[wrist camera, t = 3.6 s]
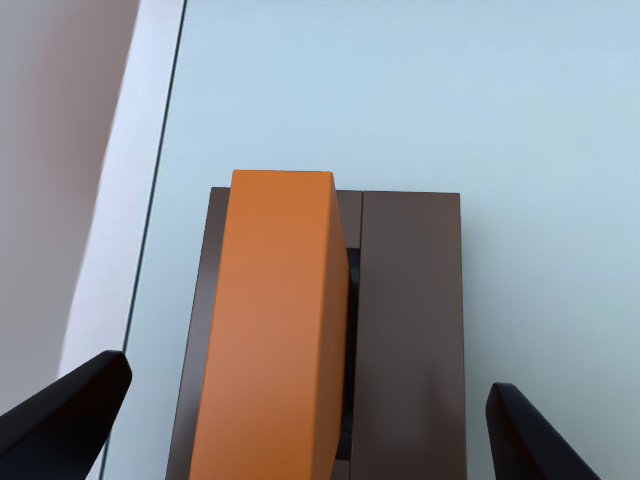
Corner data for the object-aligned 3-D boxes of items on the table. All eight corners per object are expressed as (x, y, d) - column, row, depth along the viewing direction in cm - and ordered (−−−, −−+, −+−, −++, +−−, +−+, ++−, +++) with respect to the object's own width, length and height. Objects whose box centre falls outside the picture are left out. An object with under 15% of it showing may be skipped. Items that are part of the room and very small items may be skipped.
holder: (439, 224, 18) (460, 192, 14) (442, 507, 15) (469, 563, 11) (240, 217, 19) (210, 186, 16) (205, 477, 16) (157, 519, 13)
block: (352, 280, 18) (332, 170, 6) (344, 417, 16) (303, 591, 5) (314, 279, 18) (232, 168, 7) (304, 412, 17) (173, 569, 5)
